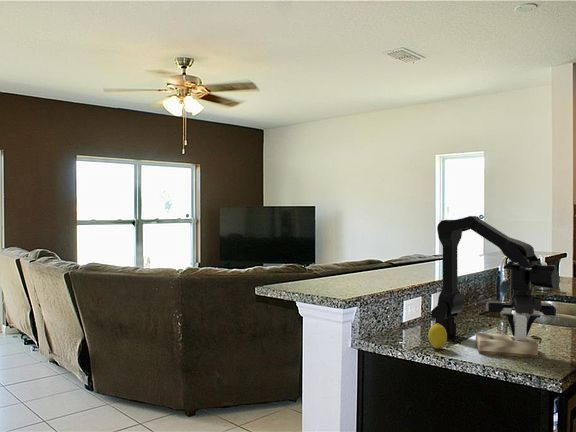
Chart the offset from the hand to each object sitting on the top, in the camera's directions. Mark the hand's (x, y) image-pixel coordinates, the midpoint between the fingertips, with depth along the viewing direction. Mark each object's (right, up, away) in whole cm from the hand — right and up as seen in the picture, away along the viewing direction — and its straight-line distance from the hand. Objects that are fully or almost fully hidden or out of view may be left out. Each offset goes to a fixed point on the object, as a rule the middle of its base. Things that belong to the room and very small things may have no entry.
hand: (519, 336), depth 152 cm
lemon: (-24, -5, +3) cm, 25 cm away
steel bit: (0, -2, 0) cm, 2 cm away
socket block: (-4, -5, +1) cm, 6 cm away
